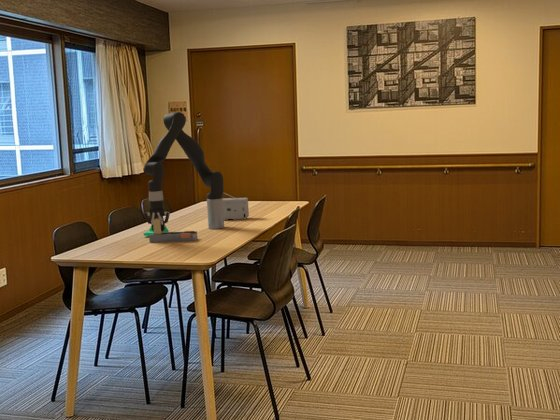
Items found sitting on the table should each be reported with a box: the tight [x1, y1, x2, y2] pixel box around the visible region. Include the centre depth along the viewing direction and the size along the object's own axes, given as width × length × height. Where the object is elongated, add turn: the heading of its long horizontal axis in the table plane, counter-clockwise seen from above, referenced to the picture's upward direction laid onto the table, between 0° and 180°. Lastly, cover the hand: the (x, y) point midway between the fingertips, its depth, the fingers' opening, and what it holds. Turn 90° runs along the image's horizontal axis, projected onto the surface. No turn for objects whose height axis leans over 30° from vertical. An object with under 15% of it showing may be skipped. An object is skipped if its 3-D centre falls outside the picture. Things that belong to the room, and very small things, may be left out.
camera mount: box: [143, 224, 170, 237], centre depth 375 cm, size 12×8×10 cm, turn 69°
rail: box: [148, 230, 198, 243], centre depth 359 cm, size 8×24×4 cm, turn 81°
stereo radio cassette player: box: [223, 192, 250, 221], centre depth 424 cm, size 21×8×20 cm, turn 84°
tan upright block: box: [153, 218, 164, 234], centre depth 360 cm, size 4×4×11 cm
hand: (158, 231), depth 360 cm, fingers closed on tan upright block, 4 cm apart
